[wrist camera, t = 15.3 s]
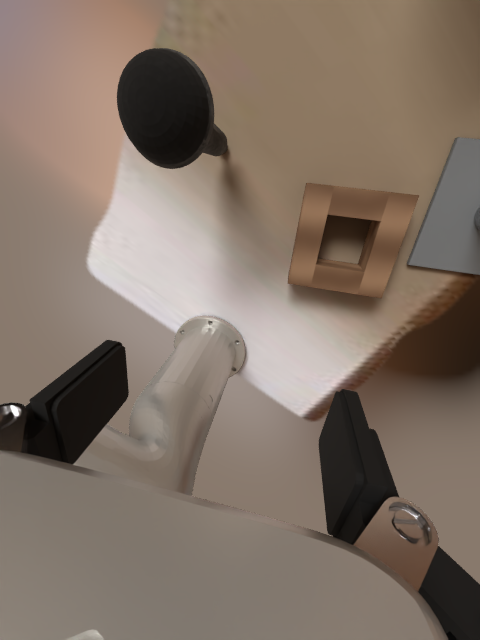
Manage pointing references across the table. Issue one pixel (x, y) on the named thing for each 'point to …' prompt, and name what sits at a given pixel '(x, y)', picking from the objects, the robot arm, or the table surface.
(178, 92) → the microphone
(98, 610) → the robot arm
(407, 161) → the table surface
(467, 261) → the slate mat
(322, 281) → the eye block
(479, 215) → the steel peg
